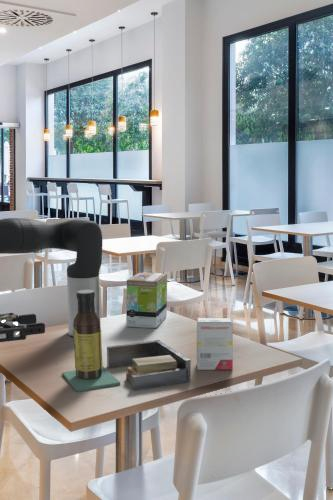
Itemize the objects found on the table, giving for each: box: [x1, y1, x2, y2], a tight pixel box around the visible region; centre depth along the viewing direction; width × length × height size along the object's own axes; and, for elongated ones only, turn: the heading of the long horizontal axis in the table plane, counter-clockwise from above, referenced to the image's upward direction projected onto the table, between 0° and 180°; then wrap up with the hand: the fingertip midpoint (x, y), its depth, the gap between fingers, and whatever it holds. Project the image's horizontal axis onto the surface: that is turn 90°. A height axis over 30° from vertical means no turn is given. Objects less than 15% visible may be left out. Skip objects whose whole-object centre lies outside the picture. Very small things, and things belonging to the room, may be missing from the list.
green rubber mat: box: [61, 366, 121, 393], centre depth 136 cm, size 12×10×1 cm
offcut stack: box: [125, 355, 177, 385], centre depth 136 cm, size 6×11×4 cm, turn 115°
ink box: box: [196, 317, 234, 371], centre depth 144 cm, size 9×5×12 cm, turn 88°
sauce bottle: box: [73, 290, 104, 379], centre depth 136 cm, size 6×6×20 cm
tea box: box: [125, 272, 168, 329], centre depth 187 cm, size 15×10×15 cm, turn 168°
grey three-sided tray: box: [106, 339, 192, 392], centre depth 140 cm, size 18×14×5 cm
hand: (40, 322), depth 131 cm, fingers open, 8 cm apart
